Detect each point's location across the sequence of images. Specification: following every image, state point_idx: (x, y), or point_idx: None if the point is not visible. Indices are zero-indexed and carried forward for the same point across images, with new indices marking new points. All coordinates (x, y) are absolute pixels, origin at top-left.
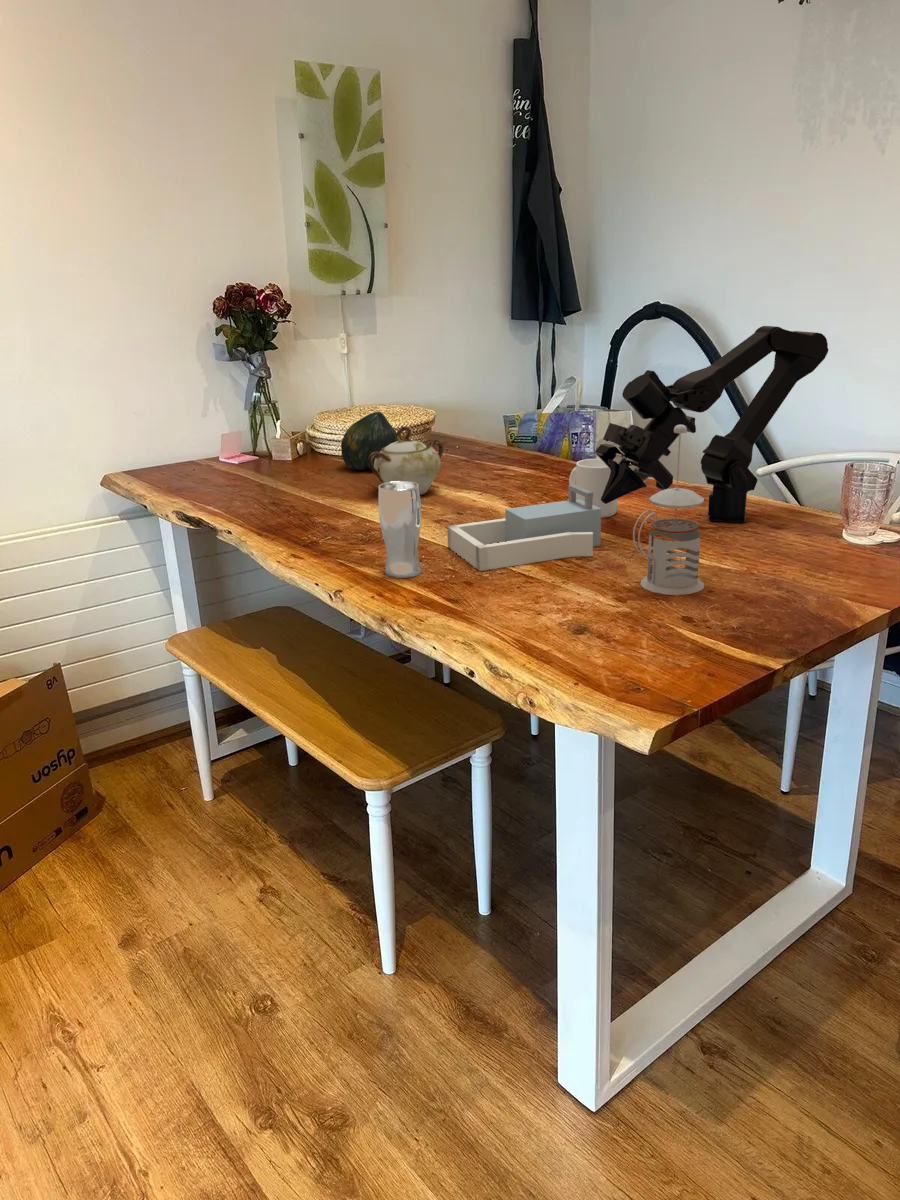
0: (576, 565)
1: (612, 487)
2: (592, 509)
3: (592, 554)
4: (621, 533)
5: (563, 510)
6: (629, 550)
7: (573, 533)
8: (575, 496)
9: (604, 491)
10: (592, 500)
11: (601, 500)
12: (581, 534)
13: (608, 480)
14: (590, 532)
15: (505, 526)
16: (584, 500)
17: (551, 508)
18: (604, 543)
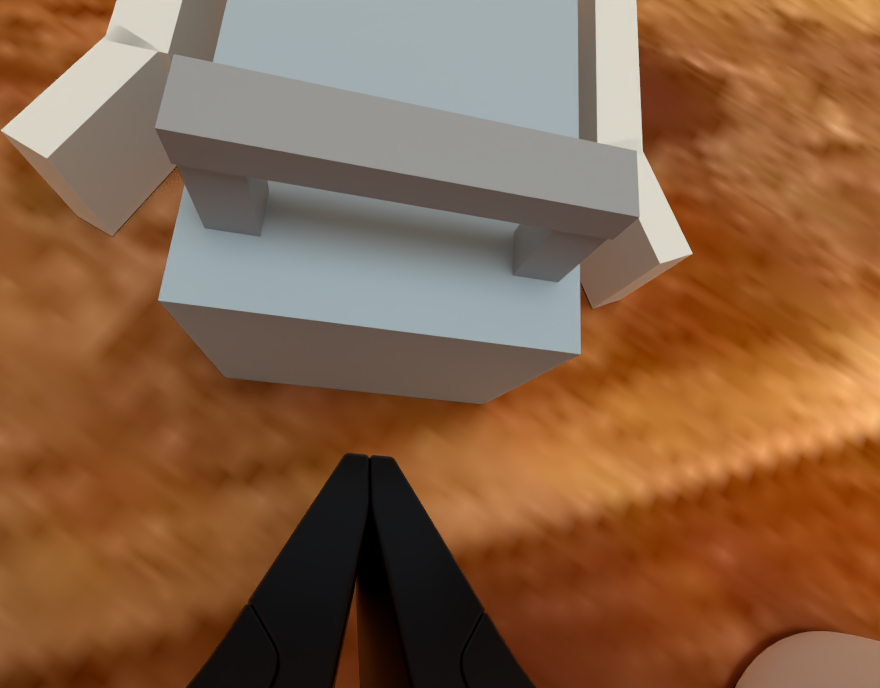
0: (12, 66)
1: (287, 575)
2: (192, 221)
3: (73, 210)
4: (356, 652)
5: (324, 36)
6: (6, 466)
7: (116, 51)
8: (529, 249)
9: (412, 515)
10: (184, 181)
11: (375, 456)
12: (64, 78)
13: (495, 645)
14: (48, 141)
15: (579, 3)
16: (867, 670)
17: (431, 17)
18: (241, 421)
